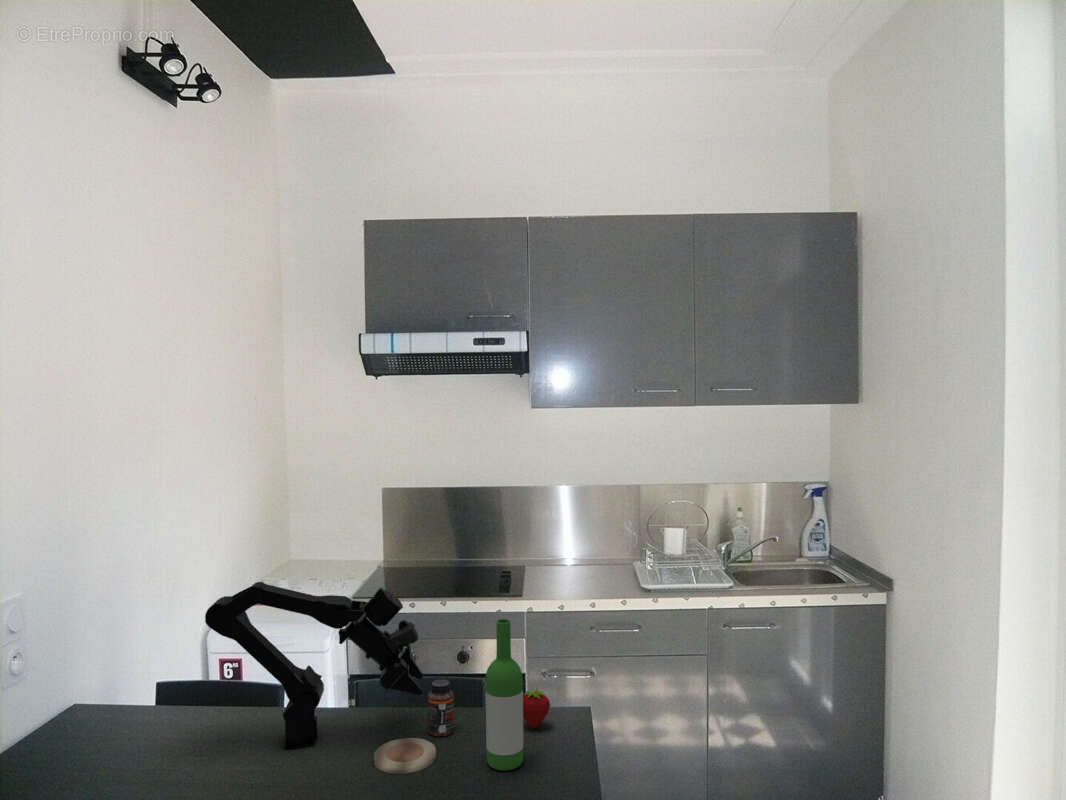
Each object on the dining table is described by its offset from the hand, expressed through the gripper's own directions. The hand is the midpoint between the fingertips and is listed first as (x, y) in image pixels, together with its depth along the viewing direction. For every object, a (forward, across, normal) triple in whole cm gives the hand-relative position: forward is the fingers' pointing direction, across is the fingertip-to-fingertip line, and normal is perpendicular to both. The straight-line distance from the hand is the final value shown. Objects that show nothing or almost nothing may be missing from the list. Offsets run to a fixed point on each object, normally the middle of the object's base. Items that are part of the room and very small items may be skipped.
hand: (421, 685), depth 168 cm
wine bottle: (+20, -17, -4) cm, 26 cm away
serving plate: (+5, -11, +10) cm, 16 cm away
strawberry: (+26, -2, -10) cm, 28 cm away
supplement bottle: (+11, 0, +5) cm, 12 cm away
